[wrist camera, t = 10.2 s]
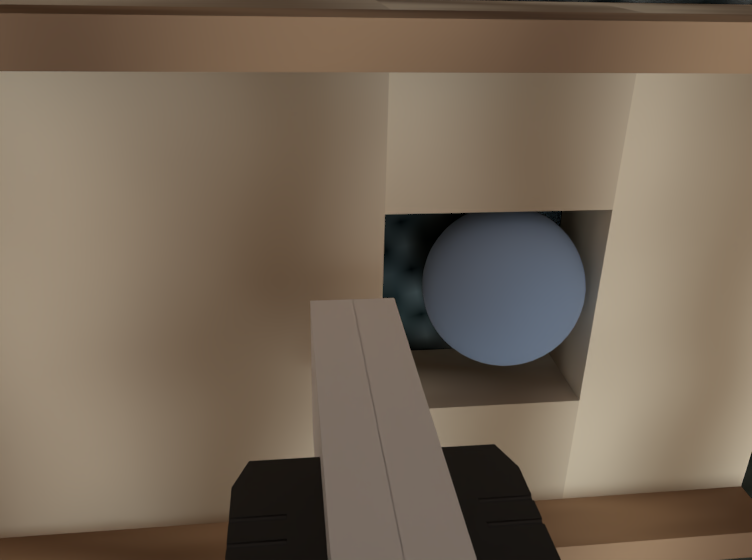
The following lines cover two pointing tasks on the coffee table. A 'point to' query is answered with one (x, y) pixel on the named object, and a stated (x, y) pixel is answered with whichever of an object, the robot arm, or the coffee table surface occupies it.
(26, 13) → the tray
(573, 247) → the ball
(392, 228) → the coffee table surface
